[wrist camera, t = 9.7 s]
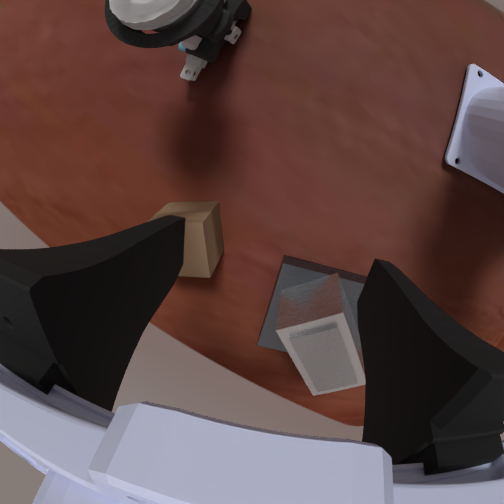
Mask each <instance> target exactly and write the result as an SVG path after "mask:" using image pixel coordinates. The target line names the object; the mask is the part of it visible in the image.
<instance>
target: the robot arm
mask: <svg viewBox="0 0 504 504" xmlns="http://www.w3.org/2000/svg"><path fill="white" fill-rule="evenodd" d="M478 71H479V72H480V77H479V76H478ZM456 158H458V163H457V164H455V159H456ZM445 161H446V163H447V164H449V165H451V166H453V167H455V168H457V169H459V170H461V171H463V172H465V173H467V174H469V175H471V176H473V177H475V178H477V179H478V180H480V181H482V182H484V183H486V184H488V185H489V186H491V187H493V188H495V189H496V190H498V191H500V192H502V193H503V194H504V84H503V83H502V82H501V81H499V80H498V79H496V78H495V77H494V76H492V75H491V74H489V73H488V72H486V71H485V70H483V69H482V68H480V67H478V66H477V65H475V64H469V65H468V67H467V72H466V77H465V82H464V87H463V91H462V96H461V100H460V104H459V108H458V112H457V116H456V120H455V124H454V127H453V131H452V134H451V138H450V141H449V144H448V148H447V151H446V154H445ZM185 219H186V218H184V217H179V216H174V215H167V216H163V217H160V218H157V219H154V220H151V221H149V222H146V223H143V224H140V225H138V226H135V227H132V228H129V229H126V230H123V231H120V232H117V233H114V234H111V235H108V236H105V237H102V238H98V239H94V240H90V241H86V242H81V243H76V244H70V245H64V246H59V247H51V248H41V249H22V250H20V249H19V250H17V249H12V250H11V249H10V250H9V249H6V250H5V249H0V441H2V442H3V443H4V444H5V445H6V446H8V447H9V448H10V449H11V450H12V451H14V452H15V453H17V454H18V455H19V456H20V457H22V458H23V459H24V460H26V461H27V462H28V463H30V464H31V465H32V466H34V467H35V468H37V469H38V470H39V471H41V472H42V473H44V474H45V475H46V477H45V479H44V480H43V482H42V484H41V486H40V488H39V490H38V493H37V495H36V497H35V499H34V501H33V503H32V504H504V441H501V437H500V434H502V433H503V432H504V424H503V421H504V352H502V351H501V350H499V349H497V348H496V347H494V346H492V345H490V344H488V343H487V342H485V341H484V340H482V339H480V338H479V337H477V336H476V335H474V334H473V333H471V332H470V331H468V330H467V329H465V328H464V327H463V326H461V325H460V324H459V323H457V322H456V321H455V320H454V319H452V318H451V317H450V316H449V315H447V314H446V313H445V312H444V311H443V310H441V309H440V308H439V307H438V306H437V305H436V304H435V303H434V302H433V301H432V300H430V299H429V298H428V297H427V296H426V295H425V294H424V293H423V292H422V291H421V290H420V289H419V288H418V287H417V286H416V285H415V284H414V283H413V282H412V281H411V280H410V279H409V278H408V277H407V276H406V275H404V274H403V273H402V272H401V271H400V270H399V269H398V268H397V267H396V266H394V265H393V264H392V263H390V262H388V261H384V260H379V259H375V260H374V262H373V265H372V267H371V270H370V272H369V275H368V277H367V279H366V282H365V284H364V287H363V289H362V291H361V294H360V296H359V298H358V300H357V320H358V329H359V336H360V342H361V349H362V355H363V362H364V369H365V381H366V391H365V417H364V429H363V439H362V442H360V441H355V440H350V439H337V438H326V437H315V436H307V435H299V434H291V433H285V432H278V431H272V430H267V429H261V428H256V427H251V426H246V425H241V424H237V423H232V422H228V421H223V420H219V419H215V418H211V417H208V416H203V415H200V414H196V413H193V412H189V411H186V410H182V409H179V408H175V407H169V406H164V405H159V404H154V403H149V402H141V403H136V404H130V405H124V406H119V407H118V409H117V411H116V413H112V408H113V405H114V402H115V399H116V396H117V393H118V390H119V387H120V385H121V382H122V379H123V377H124V374H125V371H126V369H127V367H128V364H129V362H130V359H131V357H132V355H133V352H134V350H135V348H136V346H137V344H138V342H139V340H140V337H141V335H142V333H143V331H144V330H145V328H146V326H147V324H148V323H149V321H150V320H151V318H152V317H153V315H154V314H155V312H156V311H157V309H158V308H159V306H160V305H161V303H162V302H163V300H164V299H165V297H166V295H167V294H168V292H169V291H170V289H171V288H172V286H173V285H174V283H175V281H176V279H177V277H178V275H179V273H180V270H181V268H182V266H183V263H184V238H185Z"/></svg>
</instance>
